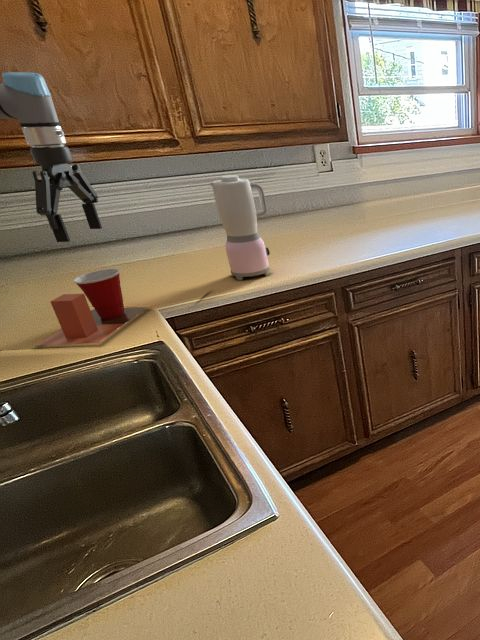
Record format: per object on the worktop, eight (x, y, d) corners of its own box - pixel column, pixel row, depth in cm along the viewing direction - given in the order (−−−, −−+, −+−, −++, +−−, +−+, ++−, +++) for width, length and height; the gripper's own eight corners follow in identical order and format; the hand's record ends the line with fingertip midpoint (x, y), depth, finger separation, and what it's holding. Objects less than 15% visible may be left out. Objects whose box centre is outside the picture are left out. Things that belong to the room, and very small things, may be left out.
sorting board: (36, 348, 127) (35, 345, 127) (94, 311, 148) (93, 309, 148) (99, 345, 128) (98, 342, 127) (148, 309, 149) (147, 307, 149)
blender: (237, 282, 169) (213, 180, 154) (227, 274, 178) (202, 176, 163) (285, 273, 178) (266, 175, 163) (273, 265, 186) (253, 171, 172)
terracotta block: (65, 338, 130) (50, 301, 125) (78, 330, 134) (63, 294, 130) (86, 337, 130) (71, 300, 126) (98, 329, 135) (84, 293, 130)
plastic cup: (93, 311, 146) (77, 270, 141) (136, 305, 150) (123, 265, 144) (84, 325, 137) (66, 282, 132) (131, 318, 141) (116, 276, 135)
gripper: (28, 151, 113) (64, 247, 122) (95, 141, 135) (122, 223, 144) (-8, 151, 112) (31, 248, 122) (65, 141, 134) (94, 224, 144)
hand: (80, 235), depth 133 cm, fingers open, 13 cm apart
